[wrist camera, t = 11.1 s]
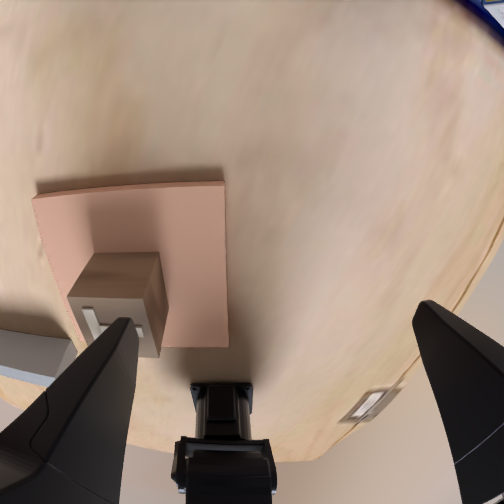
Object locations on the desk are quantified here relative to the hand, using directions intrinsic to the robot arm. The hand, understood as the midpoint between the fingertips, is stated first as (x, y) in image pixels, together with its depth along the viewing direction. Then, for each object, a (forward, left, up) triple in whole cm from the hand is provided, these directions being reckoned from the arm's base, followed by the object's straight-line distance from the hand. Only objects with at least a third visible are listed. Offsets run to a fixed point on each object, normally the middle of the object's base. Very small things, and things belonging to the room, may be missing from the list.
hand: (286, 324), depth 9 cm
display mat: (-7, +9, -12) cm, 16 cm away
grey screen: (-16, +25, -12) cm, 32 cm away
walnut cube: (-7, +9, -11) cm, 16 cm away
